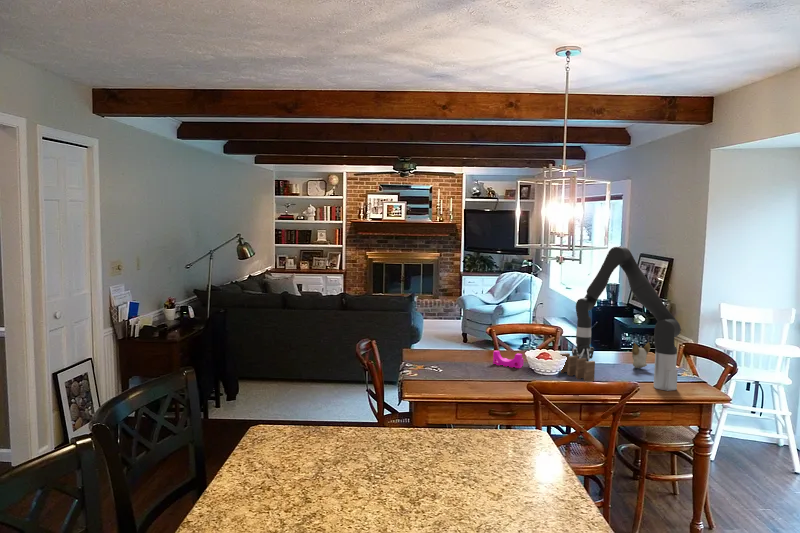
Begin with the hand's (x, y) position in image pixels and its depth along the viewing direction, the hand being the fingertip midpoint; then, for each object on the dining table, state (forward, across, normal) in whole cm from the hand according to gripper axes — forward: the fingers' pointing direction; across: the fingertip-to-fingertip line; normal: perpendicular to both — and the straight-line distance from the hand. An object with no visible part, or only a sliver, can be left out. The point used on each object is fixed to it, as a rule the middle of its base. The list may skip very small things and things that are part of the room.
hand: (582, 366), depth 301 cm
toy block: (+2, -31, +23) cm, 39 cm away
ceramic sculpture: (+2, +32, -8) cm, 33 cm away
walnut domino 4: (+2, -12, -18) cm, 22 cm away
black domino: (+2, 0, 0) cm, 2 cm away
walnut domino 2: (+2, -12, -6) cm, 14 cm away
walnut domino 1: (+2, -12, 0) cm, 12 cm away
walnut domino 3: (+2, -12, -12) cm, 17 cm away
